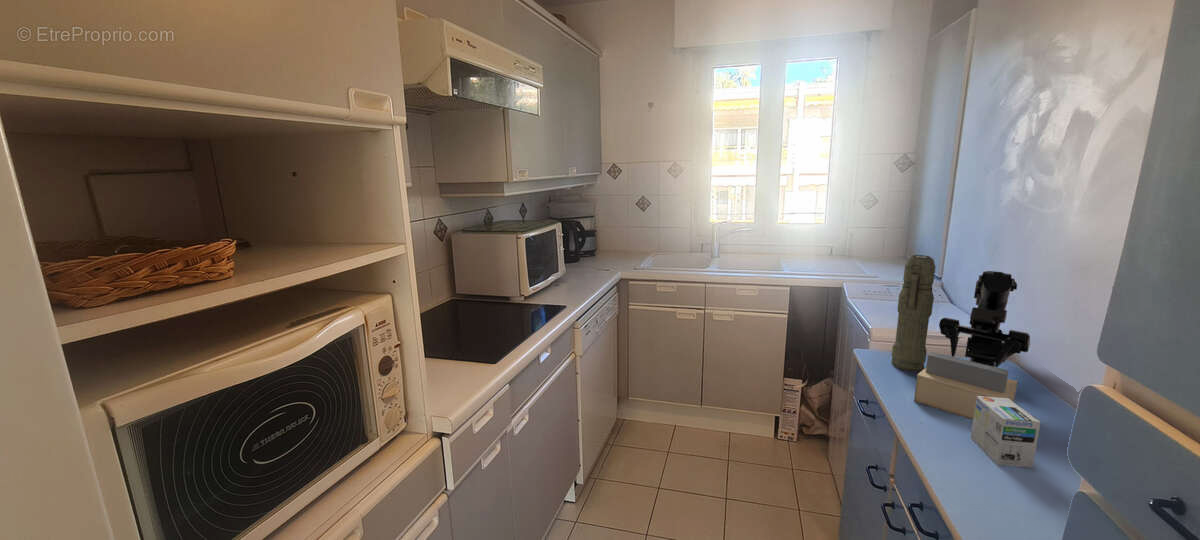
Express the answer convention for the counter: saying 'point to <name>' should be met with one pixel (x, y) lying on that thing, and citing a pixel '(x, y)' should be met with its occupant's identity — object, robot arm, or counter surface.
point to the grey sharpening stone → (966, 375)
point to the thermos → (914, 314)
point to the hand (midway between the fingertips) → (973, 361)
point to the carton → (952, 397)
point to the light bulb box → (1005, 431)
